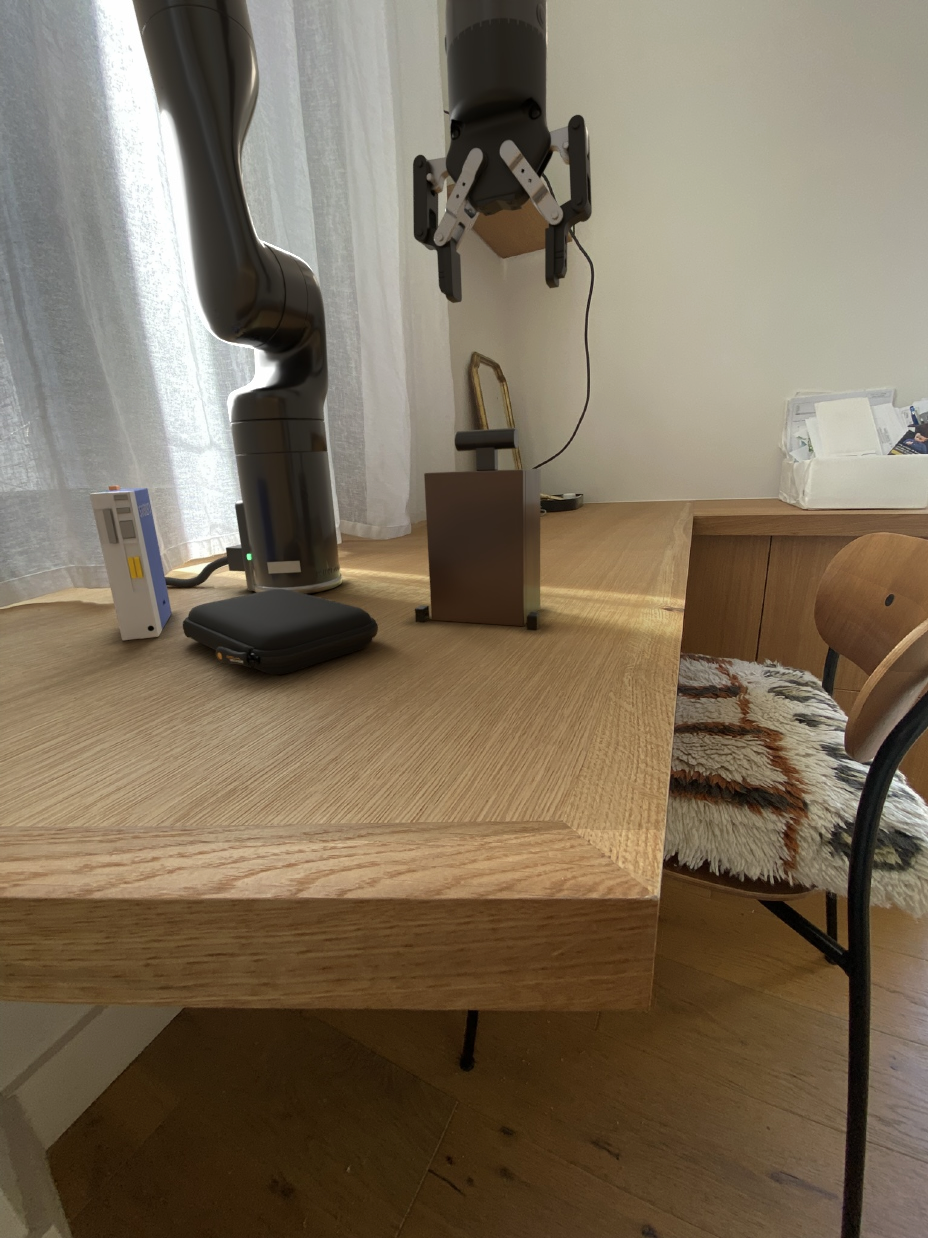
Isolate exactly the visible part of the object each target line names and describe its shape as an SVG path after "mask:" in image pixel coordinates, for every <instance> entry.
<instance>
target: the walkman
mask: <svg viewBox="0 0 928 1238" xmlns="http://www.w3.org/2000/svg"><path fill="white" fill-rule="evenodd" d="M89 498H90V499H89V500H90V502H91V507H92V512H93V517H94V520H95V525H96V530H97V534H98V539H99V542H100V548H101V553H102V557H103V561H104V565H105V570H106V576H107V578H108V579H107V580H108V583H109V588H110V593H111V596H112V602H113V605H114V610H115V614H116V619H117V623H118V628H119V632H120V637H121V640H122V641H128V640H129V641H130V640H137V639H140V640H141V639H151V638H159V636H160V635H161V633H162V632H163V629H164V627H165V626H166V624H167V622H168V620H169V618H170V617H171V615H172V613H173V612H172V608H171V602H170V598H169V592H168V587H167V586H166V581H165V577H166V576H165V571H164V567H163V561H162V557H161V551H160V546H159V540H158V535H157V531H156V524H155V519H154V515H153V510H152V504H151V500H150V494H149V489H148V487H143V488H141V487H140V488H123V489H122V488H121V486H120V485H109V486H108V490H104V491H97V492H91V493H89Z"/></svg>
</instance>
